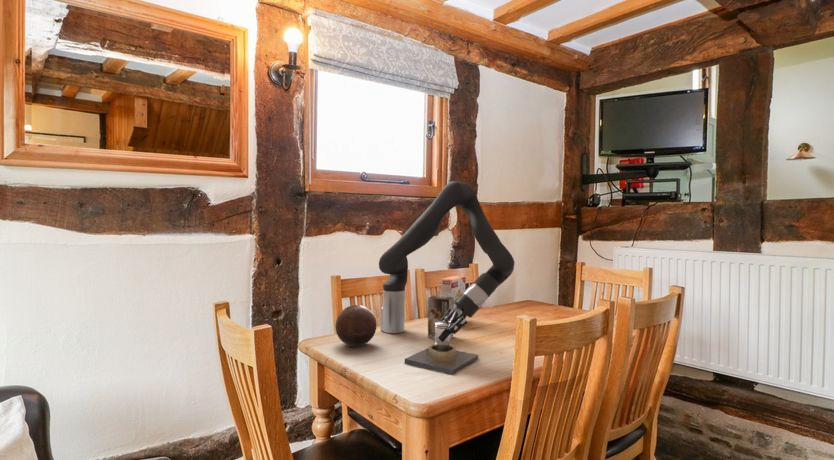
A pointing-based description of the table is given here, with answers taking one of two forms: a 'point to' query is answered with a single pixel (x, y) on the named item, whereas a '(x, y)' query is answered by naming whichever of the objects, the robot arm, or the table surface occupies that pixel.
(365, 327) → the wooden sphere
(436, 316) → the coffee box
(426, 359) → the square base with socket
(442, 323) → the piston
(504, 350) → the table surface
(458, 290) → the cracker box
